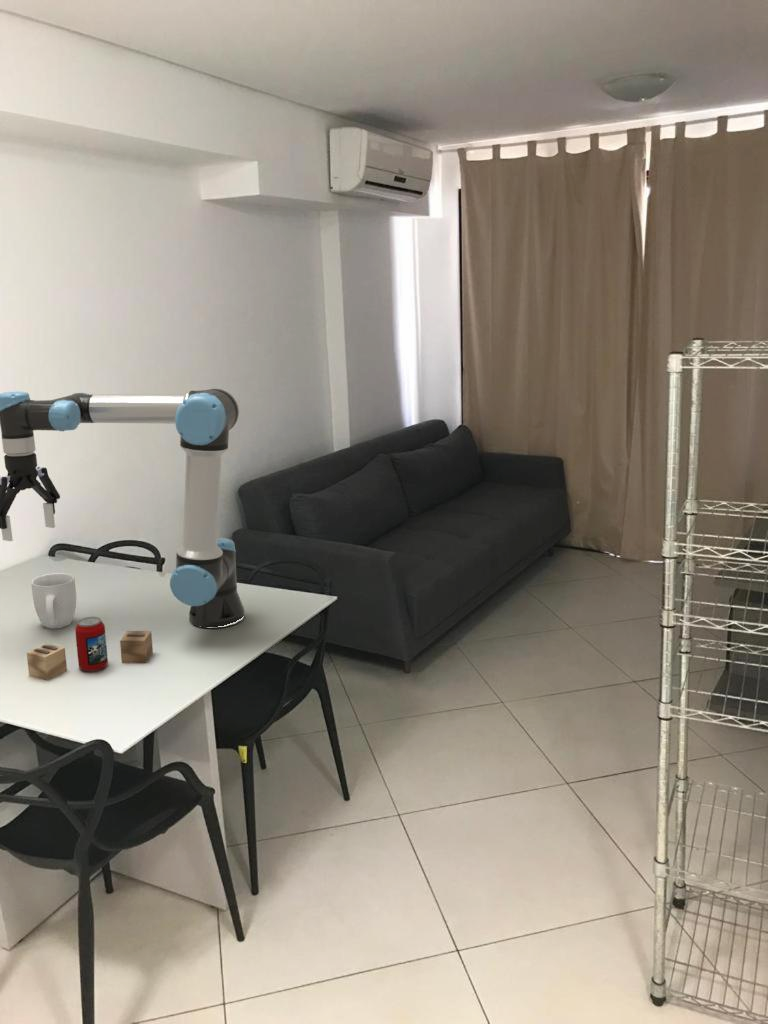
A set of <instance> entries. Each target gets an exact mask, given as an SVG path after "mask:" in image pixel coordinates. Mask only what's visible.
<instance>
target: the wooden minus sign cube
mask: <svg viewBox="0 0 768 1024" xmlns="http://www.w3.org/2000/svg"><path fill="white" fill-rule="evenodd" d="M152 637H153V636H152V631H151V630H127V631H125V633H124V635H122V637H121V638H120V640H119V646H120V656H121V663H122V664H146V663H147V662H148V661H149V660H150V658H151V656H152V655H153V653H154V650H153V649H154V648H153V638H152ZM151 654H152V655H151ZM149 657H150V658H149ZM147 660H148V661H147Z"/></svg>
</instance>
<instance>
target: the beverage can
mask: <svg viewBox="0 0 768 1024" xmlns="http://www.w3.org/2000/svg"><path fill="white" fill-rule="evenodd" d="M74 632H75V633H74V634H75V643H76V653H77V654H76V655H77V662H78V667H79V669H81V670H83V671H86V672H96V671H99V670H103V668H105V667H106V666H107V665H108V662H109V660H108V650H107V649H108V648H107V647H108V646H107V637H106V636H107V635H106V627H105V624H104V623H103V621H102V619H101V618H100V617H97V616H87V617H83V618H81V619H79V620H78V621H77V624H76V626H75V629H74Z"/></svg>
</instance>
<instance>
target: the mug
mask: <svg viewBox="0 0 768 1024" xmlns="http://www.w3.org/2000/svg"><path fill="white" fill-rule="evenodd" d="M76 587H77V586H76V581H75V576H74V575H73V574H70V573H66V572H56V573H53V572H52V573H47V574H43V575H39V576H37V577H34V578H33V579H32V580H31V593H32V594H31V595H32V598H33V599H32V600H33V605H34V610H35V613H36V615H37V617H38V619H39V621H40V622H41V624H42V625H43V626H44V627H45V628H47V629H52V630H54V629H62V628H65V627H68V626H69V625H70V624H71V623H72V622H73V620H74V617H75V614H76V613H75V612H76V611H77V610H76V609H77V591H76V590H77V588H76Z"/></svg>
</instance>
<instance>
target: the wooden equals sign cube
mask: <svg viewBox="0 0 768 1024" xmlns="http://www.w3.org/2000/svg"><path fill="white" fill-rule="evenodd" d="M26 660H27V668H28V669H27V670H28V675H29V677H33V678H37V679H39V680H43V681H44V680H45V681H50V680H52V679H53V678H55V677H58V676H59V675H61V674H63V673H64V672H67V671H68V665H67V657H66V647H63V646H59V645H55V644H51V643H47V642H46V643H44V644H41V645H39V646H38V647H35V648H34V649H32V650H30V651H27V652H26Z"/></svg>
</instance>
